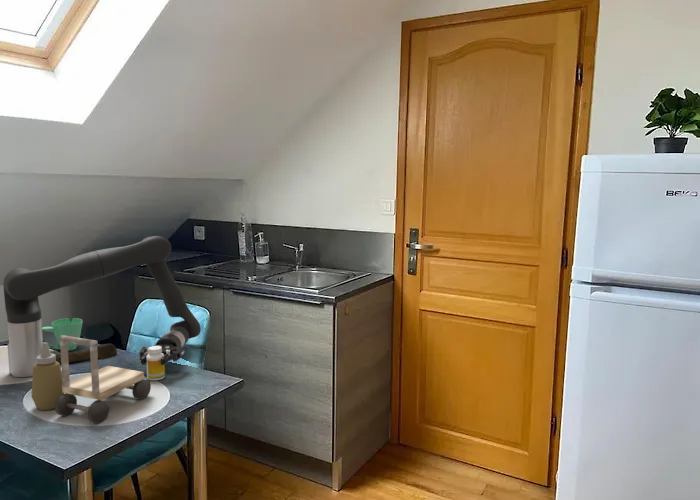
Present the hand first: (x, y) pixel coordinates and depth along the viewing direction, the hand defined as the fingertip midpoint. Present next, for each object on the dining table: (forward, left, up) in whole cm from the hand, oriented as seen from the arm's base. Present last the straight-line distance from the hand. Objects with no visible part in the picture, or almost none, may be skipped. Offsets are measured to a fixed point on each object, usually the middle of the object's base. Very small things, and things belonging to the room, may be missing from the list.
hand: (152, 361), depth 172 cm
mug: (-49, +10, -6) cm, 50 cm away
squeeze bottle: (-14, -26, -6) cm, 30 cm away
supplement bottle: (-1, +2, -6) cm, 7 cm away
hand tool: (-34, +7, -7) cm, 35 cm away
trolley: (0, -20, -6) cm, 21 cm away
